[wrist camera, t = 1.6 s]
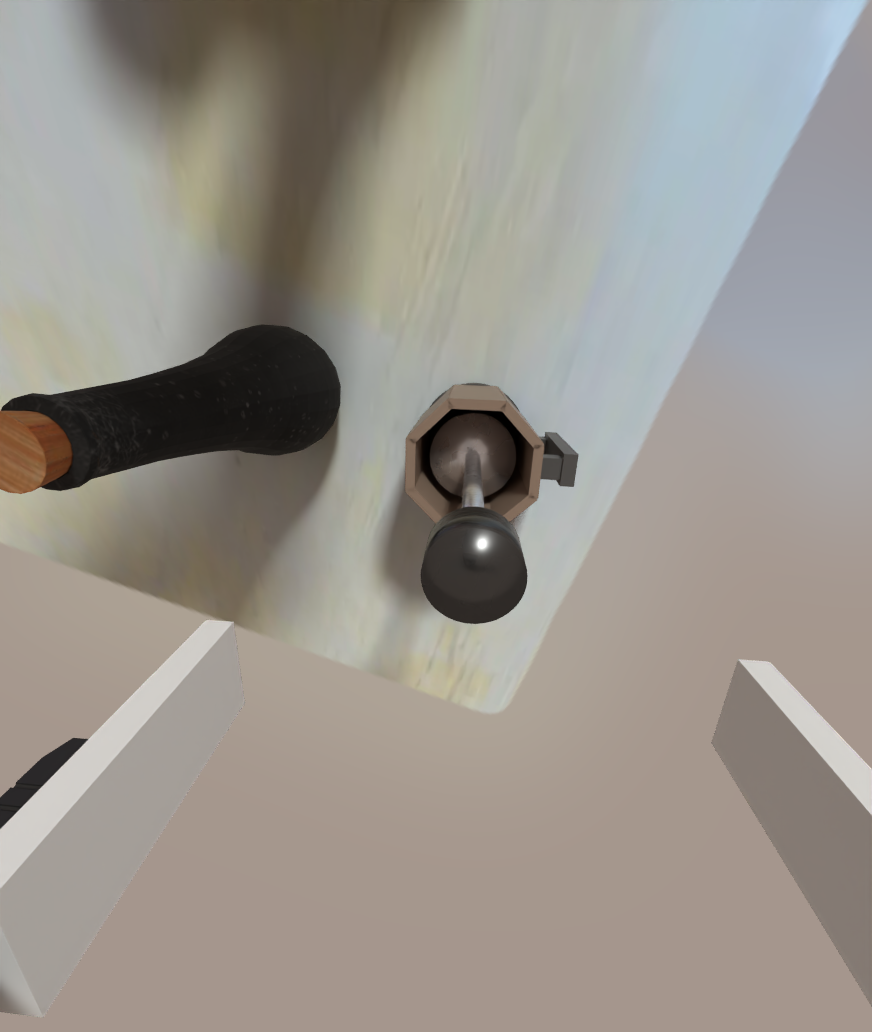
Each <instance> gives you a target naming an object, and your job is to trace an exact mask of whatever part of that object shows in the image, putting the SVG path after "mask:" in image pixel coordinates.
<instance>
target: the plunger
mask: <svg viewBox="0 0 872 1032" xmlns="http://www.w3.org/2000/svg"><path fill="white" fill-rule="evenodd" d="M515 463H516V448H515V444H514V441H513V439H512V436H511V434H510V433H509V431H508V430H507V428H506V427H505V426H504V425H503V424H502V423H501V422H500V421H498V420H497V419H495V418H494V417H492V416H489V415H487V414H483V413H476V412H471V413H464V414H460V415H457V416H455V417H453V418H451V419H450V420H448V421H447V422H446V423H444V424H443V426H442V427H441V428H440V429H439V430H438V432H437V433H436V435H435V437H434V439H433V442H432V445H431V449H430V464H431V468H432V471H433V474H434V476H435V477H436V479H437V481H438V482H439V483H440V484H441V485H442V486H443V487H444V488H445V489H446V490H447V491H449V492H451V493H452V494H454V495H457V496H460V497H463V499H462V508H460V509H457V510H454V511H452V512H450V513H448V514H446V515H445V516H444V517H442V518H441V519H440V520H439V521H438V522H437V523H436V525H435V526H434V527H433V529H432V531H431V533H430V535H429V538H428V542H427V547H426V551H425V555H424V560H423V564H422V569H421V583H422V587H423V590H424V593H425V595H426V597H427V599H428V600H429V602H430V603H431V604H432V605H433V607H434V608H435V609H437V610H438V611H439V612H440V613H442V614H443V615H445V616H446V617H448V618H450V619H453V620H456V621H459V622H463V623H470V624H479V623H486V622H491V621H494V620H497V619H499V618H501V617H503V616H504V615H506V614H508V613H509V612H510V611H511V610H512V609H514V607H515V606H516V605H517V604H518V603H519V601H520V600H521V598H522V596H523V594H524V592H525V589H526V585H527V569H526V565H525V561H524V557H523V553H522V549H521V544H520V540H519V537H518V534H517V532H516V530H515V528H514V527H513V525H512V524H511V523H510V522H509V521H508V520H507V519H506V518H505V517H504V516H502V515H501V514H499V513H497V512H495V511H493V510H490V509H487V508H484V499H483V497H485V496H488V495H491V494H493V493H495V492H496V491H498V490H499V489H500V488H502V487H503V486H504V485H505V484H506V482H507V481H508V480H509V478H510V477H511V475H512V473H513V470H514V467H515Z"/></svg>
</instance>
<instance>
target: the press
mask: <svg viewBox="0 0 872 1032" xmlns="http://www.w3.org/2000/svg"><path fill="white" fill-rule="evenodd" d="M471 412H476V413H483V414H487V415H489V416H492V417H494V418H495V419H497V420H498V421H500V422H501V423H502V424H503V425H504V426H505V427H506V428H507V430H508V431H509V433H510V434H511V436H512V439H513V441H514V444H515V448H516V463H515V467H514V470H513V473H512V475H511V477H510V478H509V480H508V481H507V482H506V484H505V485H504V486H503V487H502V488H500V489H499V490H498V491H496V492H495V493H493V494H491V495H488V496H485V497H483V499H484V508H487V509H490V510H493V511H495V512H497V513H499V514H501V515H502V516H504V517H505V518H506V519H507V520H508V521H509V522H510V521H511V520H513V519H514V518H515V517H516V516H518V515H519V514H520V513H521V512H523V511H524V510H525V509H526V508H528V507H529V506H530V505H532V504H533V503H534V502H535V501H537V499H538V495H539V486H540V479H549V480H556V481H557V482H558V484H559V485H560V486H568V487H574V481H575V474H576V468H577V461H578V454H577V453H576V452H575V451H574V450H573V449H572V448H571V447H570V446H569V445H568V444H567V443H566V442H565V441H564V440H563V439H562V438H561V437H560V436H559V435H558V434H557V433H552V432H545V437H538V435H537V434H536V432H535V431H534V430H533V428H532V427H531V426H530V424H529V423H528V422H527V420H526V419H525V418H524V417H523V415H522V414H521V413H520V412H519V410H518V408H517V407H516V405H515V404H514V402H513V401H512V400H511V399H510V398H509V397H508V396H507V395H506V394H505V393H503V392H502V391H501V390H500V389H499V387H497V386H490V385H486V384H481V383H467V384H461V385H453V386H452V387H451V388H450V389H449V390H447V391H445V392H444V393H442V394H441V395H440V396H439V397H438V398H437V399H436V400H435V401H434V402H433V403H432V405H431V406H430V408H429V409H428V410H427V411H426V412H425V413H424V414H423V415H422V416H421V418H420V419H419V420H418V422H417V423H416V425H415V426H414V427H413V429H412V430H411V431H410V433H409V434H408V436H407V437H406V463H405V491H406V493H407V494H408V495H409V496H410V497H411V498H412V499H413V501H414V502H415V503H416V504H417V505H418V506H419V507H420V508H421V509H422V510H423V511H424V512H425V513H426V514H427V515H428V516H429V517H430V518H431V519H432V520H433V521H434V522H435V523H437V522H438V521H439V520H440V519H441V518H442V517H444V516H445V515H446V514H448V513H450V512H452V511H454V510H457V509H460V508H462V499H463V497H460V496H457V495H454V494H452V493H451V492H449V491H447V490H446V489H445V488H444V487H443V486H442V485H441V484H440V483H439V482H438V481H437V479H436V477H435V476H434V474H433V471H432V468H431V464H430V449H431V445H432V442H433V439H434V437H435V435H436V433H437V432H438V430H439V429H440V428H441V427H442V426H443V424H444V423H446V422H447V421H448V420H450V419H451V418H453V417H455V416H457V415H460V414H464V413H471Z"/></svg>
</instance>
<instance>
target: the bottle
mask: <svg viewBox="0 0 872 1032" xmlns="http://www.w3.org/2000/svg"><path fill="white" fill-rule="evenodd" d="M340 388H341V386H340V382H339V378H338V375H337V371H336V368H335V366H334V365H333V363H332V362H331V360H330V358H329V357H328V355H327V354H326V352H325V351H324V350H323V349H322V348H321V347H320V346H319V345H317V344H316V343H315V342H314V341H313V340H312V339H311V338H309V337H308V336H307V335H305V334H302V333H300V332H298V331H296V330H294V329H291V328H289V327H284V326H273V325H257V326H252V327H249V328H245V329H241V330H237V331H235V332H233V333H231V334H229V335H228V336H226V337H225V338H224V339H222V340H221V341H220V342H218V343H217V344H215V345H214V346H213V347H211V348H210V349H209V350H208V351H207V352H206V353H205V354H204V355H202V356H200V357H198V358H196V359H194V360H192V361H189V362H187V363H185V364H182V365H179V366H176V367H173V368H170V369H166V370H163V371H160V372H157V373H153V374H150V375H146V376H143V377H139V378H135V379H131V380H128V381H122V382H117V383H112V384H106V385H101V386H96V387H90V388H85V389H80V390H74V391H69V392H64V393H58V394H53V395H45V394H35V393H32V394H28V395H24V396H20V397H17V398H13V399H11V400H10V401H9V402H8V403H7V404H5V405H4V406H3V407H2V409H1V411H0V489H2V490H4V491H7V492H10V493H19V494H22V493H27V492H31V491H33V490H35V489H37V488H39V487H42V488H45V489H49V490H58V491H62V490H68V489H72V488H77V487H80V486H82V485H83V484H85V483H86V482H88V481H89V480H90V479H93V478H97V477H101V476H105V475H108V474H112V473H116V472H120V471H123V470H127V469H131V468H135V467H138V466H142V465H146V464H149V463H153V462H157V461H161V460H166V459H172V458H177V457H182V456H188V455H194V454H201V453H207V452H214V451H227V450H240V451H243V452H247V453H255V454H264V455H283V454H287V453H292V452H296V451H300V450H303V449H305V448H307V447H308V446H310V445H312V444H313V443H315V442H316V441H318V440H320V439H321V438H322V437H323V436H324V435H325V434H326V432H327V431H328V430H329V429H330V427H331V426H332V425H333V423H334V421H335V418H336V415H337V412H338V409H339V406H340Z"/></svg>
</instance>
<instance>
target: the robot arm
mask: <svg viewBox="0 0 872 1032" xmlns="http://www.w3.org/2000/svg"><path fill="white" fill-rule="evenodd" d="M244 704H245V701H244V693H243V686H242V679H241V671H240V664H239V657H238V650H237V643H236V635H235V627H234V622H230V621H217V620H205V621H204V622H203V623H202V624H201V625H200V627H199V628H198V629H197V630H196V631H195V632H194V633H193V634H192V635H191V636H190V637H189V638H188V639H187V640H186V641H185V642H184V643H183V644H182V645H181V646H180V647H179V648H178V649H177V650H176V651H175V652H174V653H173V654H172V655H171V656H170V657H169V658H168V659H167V660H166V661H165V662H164V663H163V664H162V665H161V666H160V667H159V668H158V669H157V670H156V671H155V672H154V673H153V674H152V675H151V676H150V677H149V678H148V680H146V682H144V683H143V685H142V686H141V687H140V688H139V689H138V690H137V691H136V692H135V693H134V694H133V695H132V696H131V697H130V698H129V699H128V700H127V701H126V702H125V703H124V704H123V705H122V706H121V707H120V708H119V709H118V710H117V711H116V712H115V713H114V714H113V715H112V716H111V717H110V718H109V719H108V720H107V721H106V722H105V723H104V724H103V725H102V726H101V727H100V728H99V729H98V730H97V731H96V732H95V734H93V736H92V737H91V738H90V739H80V738H72V739H71V740H69V741H68V742H66V743H65V744H63V745H61V746H60V747H58V748H57V749H55V750H54V751H52V752H50V753H49V754H47V755H46V756H44V757H43V758H41V759H40V760H39V761H38V762H37V763H36V764H35V765H34V766H33V767H32V768H31V769H30V770H29V771H28V772H27V773H26V774H24V775H23V776H22V777H21V778H20V779H19V780H18V781H17V782H16V785H15V787H14V788H10V789H9V790H8V791H7V792H6V793H5V794H3V795H2V796H1V797H0V1012H5V1013H13V1014H21V1015H28V1016H37V1017H44V1016H45V1014H46V1013H47V1011H48V1009H49V1008H50V1006H51V1005H52V1003H53V1002H54V1000H55V998H56V997H57V995H58V994H59V992H60V991H61V989H62V988H63V986H64V985H65V983H66V981H67V980H68V978H69V977H70V975H71V974H72V972H73V970H74V969H75V967H76V966H77V964H78V962H79V961H80V959H81V958H82V956H83V955H84V953H85V952H86V950H87V949H88V947H89V946H90V944H91V942H92V941H93V939H94V938H95V936H96V935H97V933H98V931H99V930H100V928H101V927H102V925H103V924H104V922H105V920H106V919H107V917H108V916H109V914H110V913H111V911H112V910H113V908H114V906H115V905H116V903H117V902H118V900H119V899H120V897H121V896H122V894H123V892H124V891H125V889H126V888H127V886H128V885H129V883H130V882H131V880H132V878H133V877H134V875H135V874H136V872H137V871H138V869H139V867H140V866H141V864H142V863H143V861H144V860H145V858H146V856H147V855H148V853H149V852H150V850H151V849H152V847H153V846H154V844H155V842H156V841H157V839H158V838H159V836H160V835H161V833H162V832H163V830H164V829H165V827H166V825H167V824H168V822H169V821H170V819H171V818H172V816H173V815H174V813H175V811H176V810H177V808H178V807H179V805H180V804H181V802H182V800H183V799H184V797H185V796H186V794H187V793H188V791H189V790H190V788H191V786H192V785H193V783H194V782H195V780H196V779H197V777H198V776H199V774H200V772H201V771H202V769H203V768H204V766H205V765H206V763H207V762H208V760H209V758H210V757H211V755H212V754H213V752H214V750H215V749H216V747H217V746H218V744H219V743H220V741H221V740H222V738H223V737H224V735H225V733H226V732H227V730H228V729H229V727H230V726H231V724H232V723H233V721H234V719H235V718H236V716H237V715H238V713H239V712H240V710H241V709H242V707H243V705H244ZM711 743H712V744H713V746H714V748H715V750H716V751H717V753H718V755H719V756H720V758H721V760H722V761H723V763H724V765H725V766H726V768H727V770H728V771H729V773H730V774H731V776H732V778H733V779H734V781H735V782H736V784H737V786H738V787H739V789H740V791H741V792H742V794H743V796H744V797H745V799H746V801H747V802H748V804H749V806H750V807H751V809H752V810H753V812H754V814H755V815H756V817H757V819H758V820H759V822H760V824H761V825H762V827H763V828H764V830H765V832H766V834H767V835H768V837H769V839H770V840H771V842H772V843H773V845H774V847H775V848H776V850H777V852H778V853H779V855H780V857H781V858H782V860H783V862H784V863H785V865H786V866H787V868H788V870H789V871H790V873H791V875H792V876H793V878H794V880H795V881H796V883H797V884H798V886H799V888H800V889H801V891H802V893H803V894H804V896H805V898H806V899H807V901H808V903H809V904H810V906H811V908H812V909H813V911H814V912H815V914H816V916H817V917H818V919H819V921H820V922H821V924H822V926H823V927H824V929H825V931H826V932H827V934H828V935H829V937H830V939H831V940H832V942H833V943H834V945H835V947H836V949H837V950H838V952H839V954H840V955H841V957H842V958H843V960H844V962H845V963H846V965H847V967H848V968H849V970H850V971H851V973H852V975H853V977H854V978H855V980H856V981H857V983H858V985H859V986H860V988H861V990H862V991H863V993H864V995H865V996H866V998H867V1000H868V1001H869V1003H870V1004H871V1006H872V769H871V768H870V767H869V766H868V765H867V764H866V763H865V762H864V760H862V758H861V757H860V756H859V755H858V754H857V753H856V752H855V751H854V750H853V749H852V748H851V747H850V746H849V745H848V744H847V743H846V742H845V741H844V740H843V738H842V737H841V736H840V735H839V734H838V733H837V732H836V731H835V730H834V729H833V728H832V727H831V726H830V725H829V724H828V723H827V722H826V721H825V720H824V718H822V716H821V715H819V713H818V712H817V711H816V710H815V709H814V708H813V707H812V706H811V705H810V704H809V703H808V702H807V701H806V700H805V699H804V698H803V696H802V695H801V694H800V693H799V692H798V691H797V690H796V689H795V688H794V687H793V686H792V685H791V684H790V683H789V682H788V681H787V680H786V679H785V678H784V677H783V675H782V674H781V673H780V672H779V671H778V670H777V669H776V668H775V667H774V666H773V665H772V664H771V663H770V662H764V661H751V660H739V659H738V662H737V665H736V668H735V671H734V674H733V677H732V680H731V683H730V686H729V689H728V692H727V696H726V699H725V702H724V705H723V708H722V712H721V714H720V717H719V721H718V724H717V727H716V730H715V733H714V736H713V739H712V742H711Z"/></svg>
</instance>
